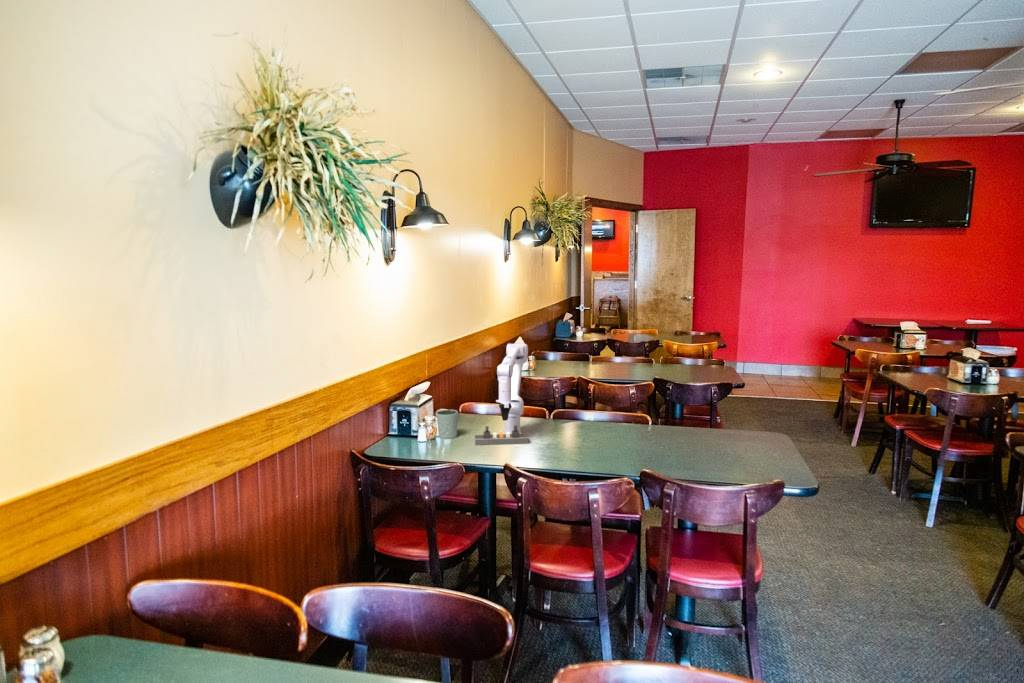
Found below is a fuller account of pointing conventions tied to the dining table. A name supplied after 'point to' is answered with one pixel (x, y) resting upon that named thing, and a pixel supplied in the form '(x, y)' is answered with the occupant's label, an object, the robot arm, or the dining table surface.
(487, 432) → the cord plug
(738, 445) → the dining table surface
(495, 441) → the strip
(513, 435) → the cord plug
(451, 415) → the gray cup
